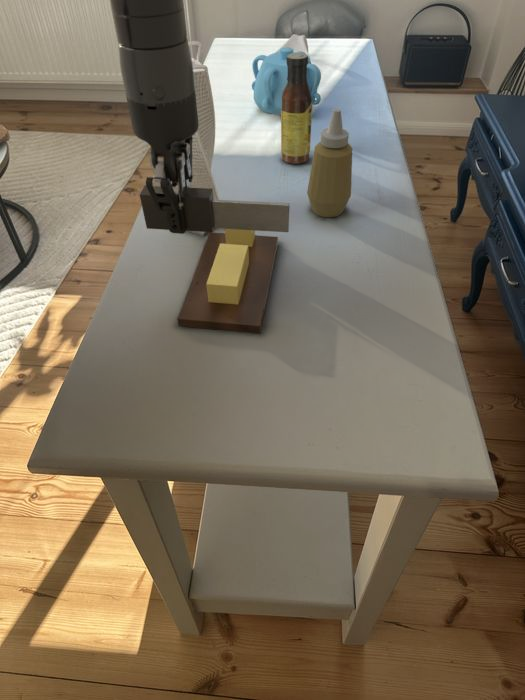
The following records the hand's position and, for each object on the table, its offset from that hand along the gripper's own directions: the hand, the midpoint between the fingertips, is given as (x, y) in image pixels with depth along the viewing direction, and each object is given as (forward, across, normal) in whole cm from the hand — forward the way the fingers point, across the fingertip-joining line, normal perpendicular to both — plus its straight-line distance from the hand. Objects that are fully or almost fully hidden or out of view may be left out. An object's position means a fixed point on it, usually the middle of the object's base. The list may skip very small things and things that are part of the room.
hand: (180, 225), depth 65 cm
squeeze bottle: (+13, -27, +20) cm, 36 cm away
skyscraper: (+13, -21, -3) cm, 25 cm away
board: (+13, -4, +6) cm, 15 cm away
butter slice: (+11, -13, +6) cm, 18 cm away
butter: (+11, -2, +6) cm, 13 cm away
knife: (0, 0, +5) cm, 5 cm away
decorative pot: (+13, -74, +8) cm, 76 cm away
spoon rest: (+13, -105, +8) cm, 106 cm away
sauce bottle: (+13, -47, +13) cm, 51 cm away
